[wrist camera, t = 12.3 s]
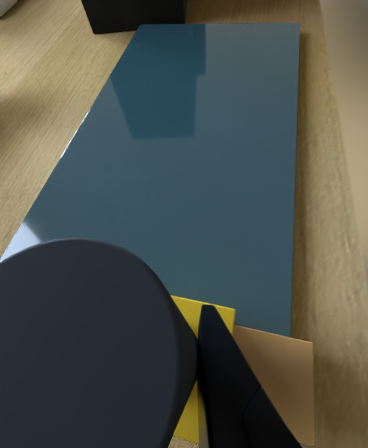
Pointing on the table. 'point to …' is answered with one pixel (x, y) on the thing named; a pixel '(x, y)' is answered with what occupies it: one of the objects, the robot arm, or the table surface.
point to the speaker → (132, 13)
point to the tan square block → (283, 376)
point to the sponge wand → (95, 350)
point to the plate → (190, 166)
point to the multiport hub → (6, 5)
